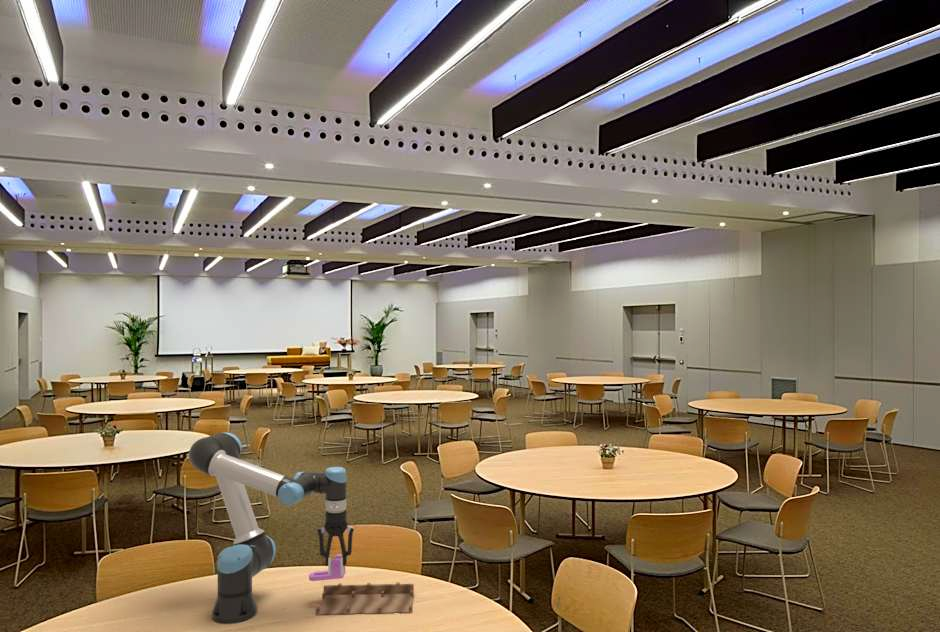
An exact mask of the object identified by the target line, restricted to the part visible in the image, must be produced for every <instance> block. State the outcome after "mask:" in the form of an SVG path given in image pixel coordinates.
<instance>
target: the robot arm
mask: <svg viewBox="0 0 940 632" xmlns="http://www.w3.org/2000/svg"><path fill="white" fill-rule="evenodd" d="M242 451H243V445H242V443H241V441H240V439H239V437H238V436H236V435H235V434H234V433H231V432H228V431H227V432H219V433H215V434H213V435H212V434H211V435H209V436H206V437H202V438H200V439H197V440H196V441H194V442H193V444H192V445H191V446H190V448H189V451H188V460H189V462H190V464H191V466H193V468H195V470H197V471H199V472H201V473H204V474H205V475H208V476H211V477H215V479H216V481H217V484H218V487H219V491H220V494H221V497H222V500H223V503H224V505H225V506H224V507H225V508H226V511H227V514H228V517H229V521H230V523H231V527H232V530H233V533H234V535H235V539H234V541H233V545H232V546H229V547H226V548H224V549H223V550H221V551H220V552H219V554H218V556H217V562H216V566H217V567H216V568H217V570H216V571H217V596H216V599H215V602H214V606H213V610H212V613H211V614H212V615H211V617H212V621H213V622H215V623H218V624H224V625H231V624H239V623H242V622H243V623H244V622H245V621H248V620H250V619H253V618H254V617H255V616H256V615H257V614H258V604H257V602H256V598H255V596H254V593H253V577H255V576H256V575H258V574H259V573H260V572H262V571H264V570H265V569H267V568H268V567H269V566H270V565H271V564H272V563H273V561H274V560H275V557H276V553H277V548H276V544H275V541H274V540H273V539H272V538H271V537H269V536H268V535H266V532H265V530H264V529H262V528H260V527H259V525H258V522H257V519H256V517H255V516H256V515H255V514H254V510H253V506H252V503H251V501H250V498H249V495H248V491H247V489H246V486H247V487H250V488H252V489H255V490H257V491H260V492H263V493H265V494H268V495H271V496H273V497H277V498H278V499H279V502H281V504H283V505H284V506H292V505H296V504H298V503H300V502H301V501H302V500H303V499H304V500H305V498H307V497H309V496H311V495H313V494H318V495H325V523H324V524H323V525H324V526H322V527H320V526H319V527H318V528H317V530H316V531H317V534H318V536H319V541H318V542H319V555H320V556H321V557H324V559H325V560H324V561H325V562H324V563H325V566H326V567H328V568H327V570H328V576H331V573H332V567H331V564H332V561H333V559H332V554H331V549H332V548H331V547H332V544H333V543H332V542H333V537H338V540H339V545H340V550H341V555H342V556H341V576H343V573H344V566H345V567H346V566H347V562H348V557H347V556H351V555H352V551H353V535H354V534H353V533H354V531H355V526H350V525H348V522H347V510H346V509H347V482H348V481H347V471H346V468H344V467H342V466H331V467H327V468H326V469H325V470H324V471H325V472H313V471H312V472H311V471H299V472H297V473H295V475H294V477H292V478H291V477H288V476H286V475H283V474H280V473H278V472H275V471H274V470H273V471H272V470H269V469H267V468H264V467H261V466H259V465H256V464H253V463H252V462H251V463H250V462H248V461H245V460H243V459H241V457H240V456H241V455H242V454H241V453H242ZM325 531H326V533H327V534H328V538H327V544H326V548H325ZM346 531H347V533H348V537H347V545H346V542H345V536H344V533H345V532H346ZM346 546H347V547H346ZM330 554H331V555H330Z"/></svg>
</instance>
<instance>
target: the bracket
mask: <svg viewBox="0 0 940 632" xmlns="http://www.w3.org/2000/svg"><path fill="white" fill-rule="evenodd" d="M341 556H342V553H341V554H339V553H338V554H336V555H335V556H334V558H333V559H332V564H331V567H332V573H331V576H328V569H327V570H326V569H325V570H317V571H313V572H311V573H309V574H308V580H309V581H311V582H316V581H327V580H329V581H330V580H338V579H344V576H345V575H346V572H347V571H346V566H344V573H343V576H341Z"/></svg>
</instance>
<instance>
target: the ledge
mask: <svg viewBox="0 0 940 632" xmlns="http://www.w3.org/2000/svg"><path fill="white" fill-rule="evenodd" d="M414 584H415V583H401V582H400V581H399V582H396V583H384V584H383V583H379V584H371V582H367V583H366V584H342V583H341V582H340V583H337V584H331V585H329V584H328V585H327V584H324V585H323V591H322V593H321V595H322V596H321V597H322V598H321V600H320V603H319V604H318V606H316V608H315V617H316V616H317V617H318V616H352V615H353V616H355V615H356V614H365V615H395V614H394V613H399V614H400V615H401V614H403V613H404V614H412V613H413V604H414V595H415V594H414V589H415V587H414ZM354 614H355V615H354ZM356 616H357V615H356Z"/></svg>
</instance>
